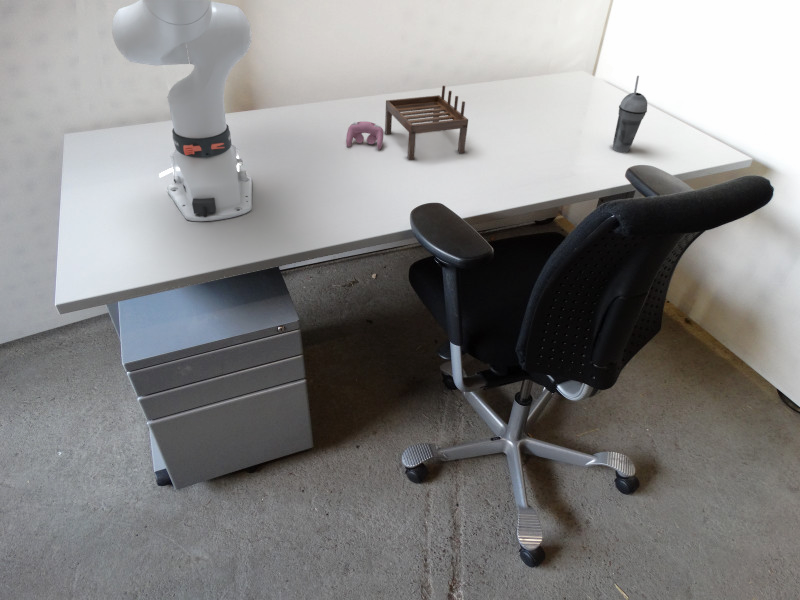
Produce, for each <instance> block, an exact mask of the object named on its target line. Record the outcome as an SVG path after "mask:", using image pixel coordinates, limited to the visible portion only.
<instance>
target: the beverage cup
mask: <svg viewBox="0 0 800 600" xmlns="http://www.w3.org/2000/svg"><path fill="white" fill-rule="evenodd" d="M639 78H640V75H637V76H636V79H635V84H634V90H633V92H631V93H629V94H627V95H626V96H624V97H623V98H622V100H621V101H620V104H619V105H618V117H617V122H616V126H615V131H614V137H613V143H612V147H611V148H612V150H614V151H615V152H618V153H623V154H624V153H629V152H630V148H631V147H632V145H633V142H634V140H635V138H636V135H637V133H638V130H639V128H640V125H641V124H642V121H643V119H644V118H645V116H646V114H647V113H648V100H647V97H645V95H643V94H642V93H641V92H637V89H638V84H639V80H640V79H639Z"/></svg>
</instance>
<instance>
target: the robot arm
mask: <svg viewBox="0 0 800 600" xmlns="http://www.w3.org/2000/svg"><path fill="white" fill-rule="evenodd" d="M111 35H112V39H113V42H114V45H115V46H116V48H117V50H118V51H119V53H120V54H121V55H122V56H123V57H124V58H125V60H127V61H129V62H130V63H136V64H142V65H148V66H173V65H174V66H176V65H193V69H192V71H191V72H190V73H189V74H188V75H187V76H185V77H183V78H182V79H180V80H178V81H177V82H176V83H174V84H173V85H172V87H170V90H169V91H168V93H167V104H168V108H169V113H170V118H171V122H172V130H171V133H172V140H173V144H174V148H175V149H174V151H173V152H172V153H171V154H170V156H169V159H170V164H171V168H168V169H167V170H165V171H162V172H161V173H159V178H162V177H164V176H166V175H168V174H170V173H172V174H173V182H174V183H172V184H170V185H168V187H167V193H168V195H169V196H170V198H171V199H172V201H173V202H174V203H175V205H176V206H177V208H178V210H179V211H180V213H181V214H182V216H183V217H184V219H186V220H187V221H190V222H191V221H192V222H210V221H211V222H213V221H219V220H226V219H231V218H236V217H240V216H243V215H245V214H247V213H249V212H251V211H252V207H253V206H252V205H253V203H252V201H253V181H252V177H251V175H248V174H247V170H242V168H241V166H243V163H244V162H243V158H240V153H239V148H238V147H237V146H236V145H234V144H233V143H232V133H231V130H230V127H229V125H228V124H227V118H226V109H225V108H226V107H225V88H226V83H227V80H228V78H229V75H230V74H231V72H232V70H233V68H234V67H235V66H236V65H237V64H238V62H240V61H241V60H242V59H243V58H244V57H245V56H246V55H247V54H248V52H249V50H250V48H251V44H252V40H253V39H252V38H253V33H252V27H251V24H250V21H249V19H248V17H247V16H246V14H245V12H243V10H242V9H241V8H240V7H239V6H237V5H234V4H228V3H223V2H217V1H212V0H138V1H136V2H133V3H132V4H130V5H127V6H124V7H120V8H119V9H118V10H117V11H116V13H115V14H114V16H113V19H112V23H111Z"/></svg>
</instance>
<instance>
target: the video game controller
mask: <svg viewBox="0 0 800 600" xmlns="http://www.w3.org/2000/svg"><path fill="white" fill-rule="evenodd" d="M363 134H368V135H367V137H366V142H367V144H369V145H374V144H375V143H376V146H377V150H381V149H382V147H383V143H384V129H383V127H382V126H380V125H379V124H377V123H375V122H371V121H355V122H352V123H351V124H350V125H349V127H348V128H347V132H346V139H345V144H346V147H347V148H349V147H351V145H352V144H353V143H352V142H353V140H355V142H356V143H358V144H362V143H364V142H365V137H364V135H363Z"/></svg>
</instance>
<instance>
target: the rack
mask: <svg viewBox="0 0 800 600" xmlns="http://www.w3.org/2000/svg"><path fill="white" fill-rule="evenodd" d="M445 93H446V85H442V88H441V95H440V94H437V95H428V96H427V95H426V96H418V97H408V98H397V99H386V100H385V114H384V115H385V116H384V117H385V120H384V134H385V135H392V123H393V118H394V119H396V121H397V122H398V123H399V124H400V125H401V126H402V127H403V128H404V129H405V130H406V131H407V132H408V140H407V156H406V157H407V159H408V161H412V160H415V154H416V153H415V152H416V139H417V135H418V134H426V133H434V132H442V131H443V132H444V131H452V130H459V133H458V143H457V153H459V154H464V153H465V149H466V141H467V133H468V125H469V118H467V117H466V116H464V114H465V109H466V108H465V106H466V101H463V100H462V101H461V107H460V108H461V109H460V111H458V103H459V95H455V96H454V105H453V106H452V105H451V102H452V93H453V91H452V90H448V96H447V100H446V99H445Z"/></svg>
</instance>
